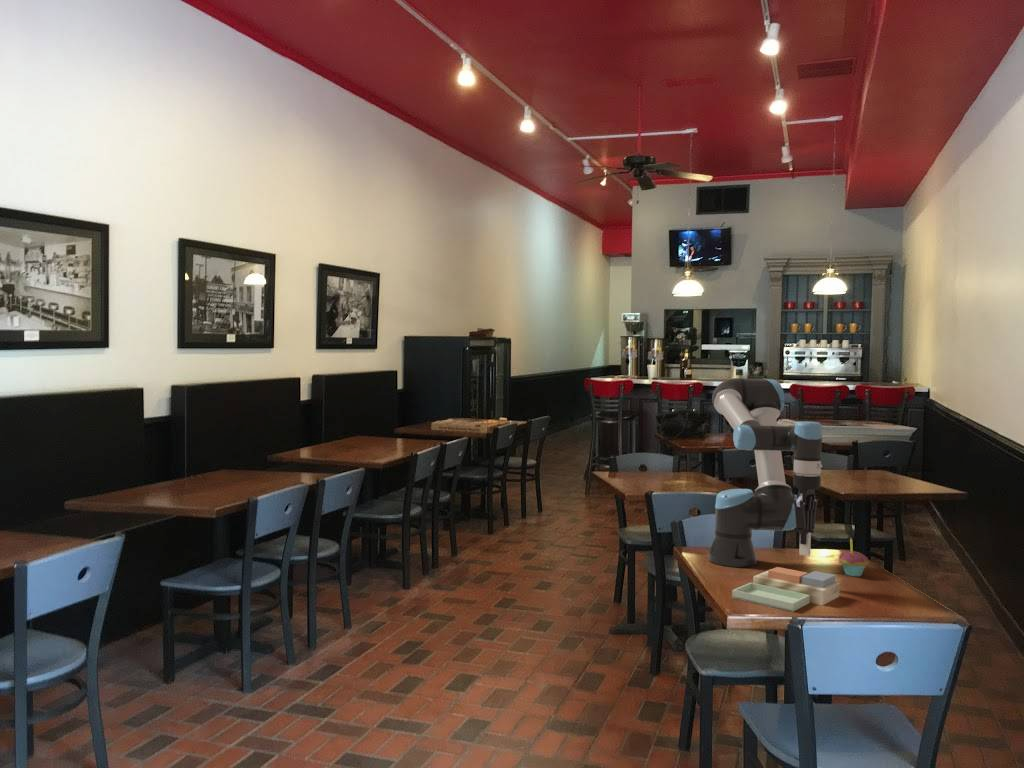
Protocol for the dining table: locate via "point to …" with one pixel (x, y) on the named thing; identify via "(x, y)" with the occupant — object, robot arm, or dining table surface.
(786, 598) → the tray
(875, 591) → the dining table surface
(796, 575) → the orange flat block
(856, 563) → the cupcake
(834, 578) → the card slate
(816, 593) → the beige flat box
